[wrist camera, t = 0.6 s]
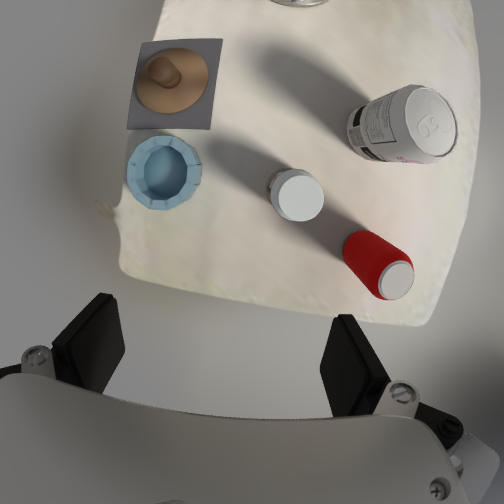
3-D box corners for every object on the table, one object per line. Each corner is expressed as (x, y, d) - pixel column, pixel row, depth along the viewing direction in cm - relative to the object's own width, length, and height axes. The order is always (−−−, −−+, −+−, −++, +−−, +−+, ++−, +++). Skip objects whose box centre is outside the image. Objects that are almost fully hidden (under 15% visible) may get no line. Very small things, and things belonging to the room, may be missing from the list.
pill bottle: (257, 195, 36) (260, 207, 26) (281, 159, 34) (292, 158, 25) (293, 218, 37) (308, 237, 27) (316, 183, 35) (339, 190, 26)
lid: (145, 53, 28) (129, 38, 23) (213, 49, 29) (207, 31, 23) (134, 115, 31) (115, 108, 26) (203, 114, 32) (195, 105, 26)
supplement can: (371, 95, 31) (430, 68, 17) (404, 141, 33) (472, 138, 19) (333, 125, 33) (383, 105, 18) (369, 172, 34) (431, 181, 20)
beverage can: (343, 227, 37) (379, 254, 26) (380, 229, 37) (424, 255, 26) (337, 267, 39) (368, 307, 27) (374, 268, 39) (412, 304, 28)
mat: (142, 43, 28) (142, 42, 28) (222, 39, 28) (222, 38, 28) (127, 129, 32) (126, 129, 32) (209, 129, 33) (209, 129, 32)
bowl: (141, 138, 33) (129, 136, 29) (205, 139, 33) (200, 136, 29) (137, 203, 36) (125, 207, 32) (199, 207, 36) (193, 212, 32)
